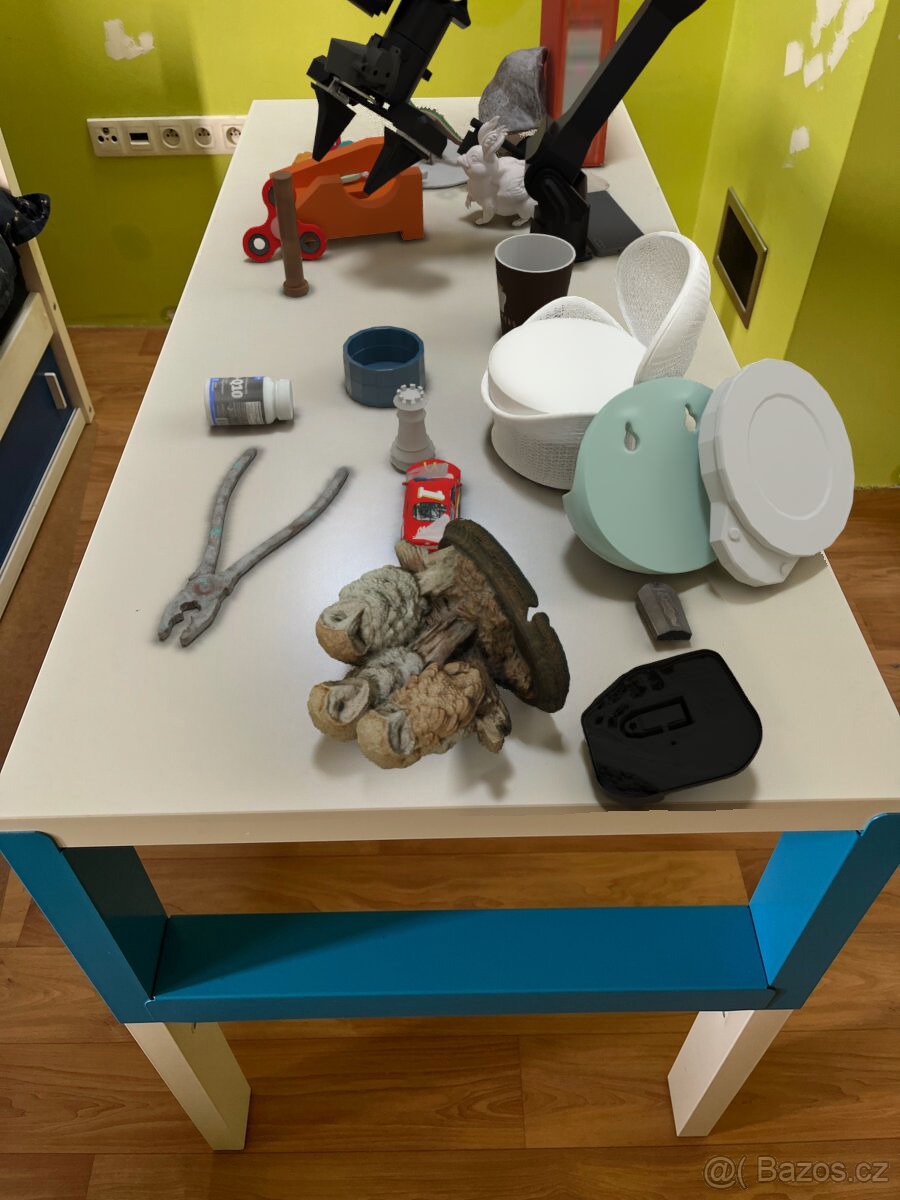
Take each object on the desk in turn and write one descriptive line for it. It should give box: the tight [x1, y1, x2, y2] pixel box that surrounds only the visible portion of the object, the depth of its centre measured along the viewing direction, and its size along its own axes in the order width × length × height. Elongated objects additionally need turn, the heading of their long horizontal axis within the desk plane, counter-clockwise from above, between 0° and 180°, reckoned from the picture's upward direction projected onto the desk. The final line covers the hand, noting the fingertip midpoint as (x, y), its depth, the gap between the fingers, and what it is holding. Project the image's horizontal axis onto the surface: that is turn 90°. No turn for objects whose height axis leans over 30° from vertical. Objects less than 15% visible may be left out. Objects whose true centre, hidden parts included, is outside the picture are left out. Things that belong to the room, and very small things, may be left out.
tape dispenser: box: [268, 135, 425, 243], centre depth 128 cm, size 18×13×8 cm
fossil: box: [477, 46, 548, 136], centre depth 141 cm, size 15×14×10 cm
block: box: [634, 581, 693, 642], centre depth 81 cm, size 4×6×2 cm, turn 10°
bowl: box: [342, 325, 426, 408], centre depth 104 cm, size 8×8×4 cm
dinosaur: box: [408, 98, 469, 189], centre depth 141 cm, size 18×18×11 cm
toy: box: [241, 177, 327, 263], centre depth 122 cm, size 10×10×1 cm
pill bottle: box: [203, 375, 294, 427], centre depth 100 cm, size 5×5×8 cm
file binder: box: [539, 0, 621, 167], centre depth 138 cm, size 8×17×32 cm, turn 4°
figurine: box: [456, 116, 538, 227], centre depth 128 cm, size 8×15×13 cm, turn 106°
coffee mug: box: [494, 233, 576, 338], centre depth 110 cm, size 12×9×10 cm
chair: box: [480, 230, 712, 491], centre depth 91 cm, size 20×20×20 cm
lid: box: [698, 357, 856, 588], centre depth 85 cm, size 17×20×3 cm
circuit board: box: [470, 126, 523, 154], centre depth 149 cm, size 8×8×1 cm
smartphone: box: [587, 190, 651, 258], centre depth 130 cm, size 7×1×15 cm
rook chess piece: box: [389, 384, 437, 473], centre depth 94 cm, size 4×4×8 cm
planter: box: [561, 376, 719, 575], centre depth 86 cm, size 19×7×16 cm
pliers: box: [157, 446, 349, 646], centre depth 88 cm, size 11×1×25 cm
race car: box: [400, 458, 463, 553], centre depth 89 cm, size 13×5×4 cm, turn 177°
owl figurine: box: [306, 516, 571, 770], centre depth 72 cm, size 18×12×17 cm
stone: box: [581, 168, 611, 193], centre depth 139 cm, size 8×14×2 cm, turn 40°
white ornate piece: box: [444, 116, 533, 191], centre depth 138 cm, size 6×11×13 cm
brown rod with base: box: [272, 171, 310, 298], centre depth 115 cm, size 3×3×14 cm
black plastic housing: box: [580, 648, 764, 807], centre depth 72 cm, size 12×10×5 cm
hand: (340, 176), depth 113 cm, fingers open, 9 cm apart
